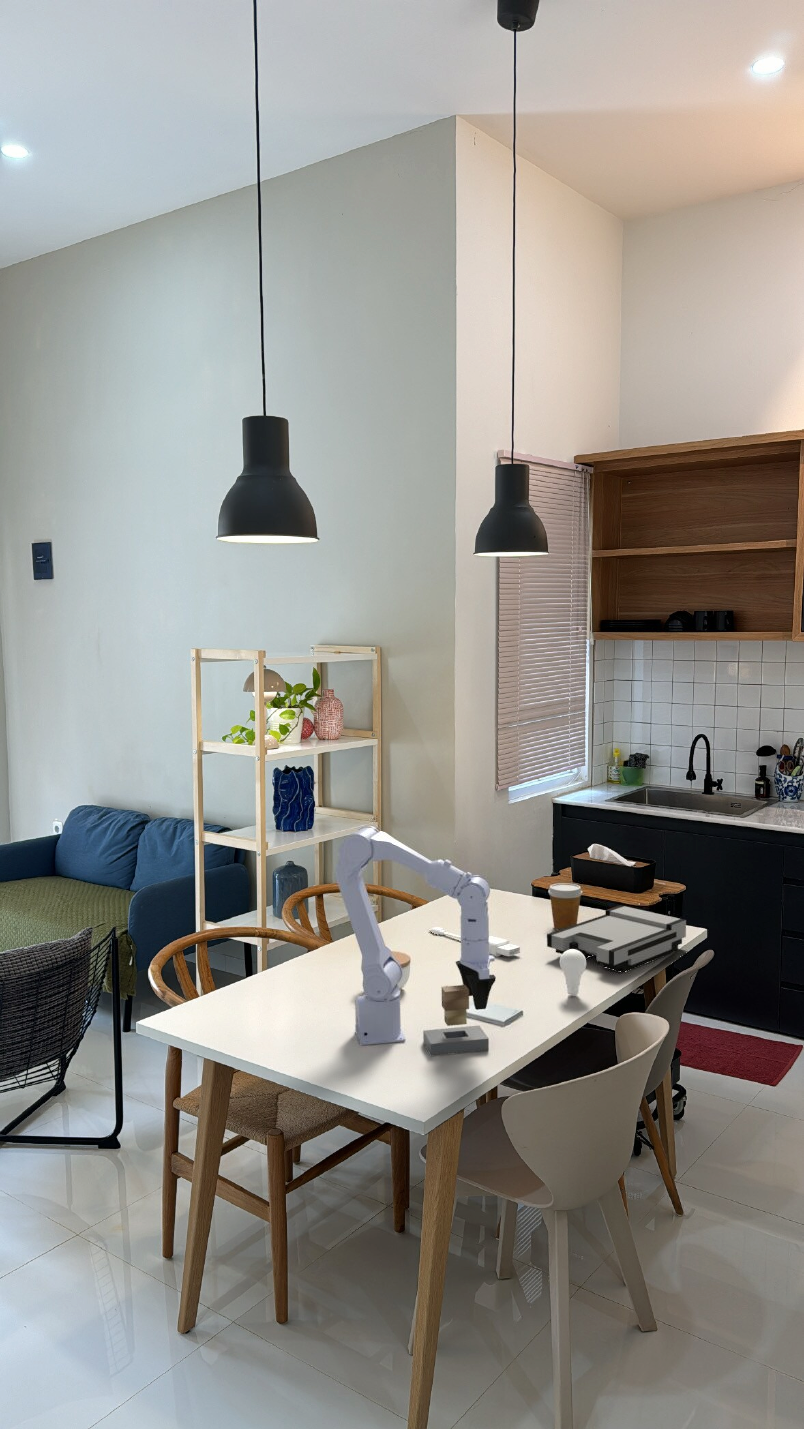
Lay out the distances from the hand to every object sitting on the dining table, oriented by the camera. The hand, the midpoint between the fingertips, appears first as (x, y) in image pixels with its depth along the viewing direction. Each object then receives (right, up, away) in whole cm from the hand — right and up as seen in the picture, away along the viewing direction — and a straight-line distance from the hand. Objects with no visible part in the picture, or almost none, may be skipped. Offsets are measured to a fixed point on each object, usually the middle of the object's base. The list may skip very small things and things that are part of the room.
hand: (475, 1002), depth 207 cm
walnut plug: (-4, -4, 0) cm, 6 cm away
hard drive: (+4, -8, +17) cm, 20 cm away
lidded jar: (-18, -7, +33) cm, 39 cm away
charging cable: (+4, -4, +67) cm, 67 cm away
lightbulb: (+25, -7, +27) cm, 37 cm away
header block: (-4, -9, 0) cm, 10 cm away
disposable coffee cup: (+31, -2, +81) cm, 87 cm away
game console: (+41, -4, +57) cm, 71 cm away
